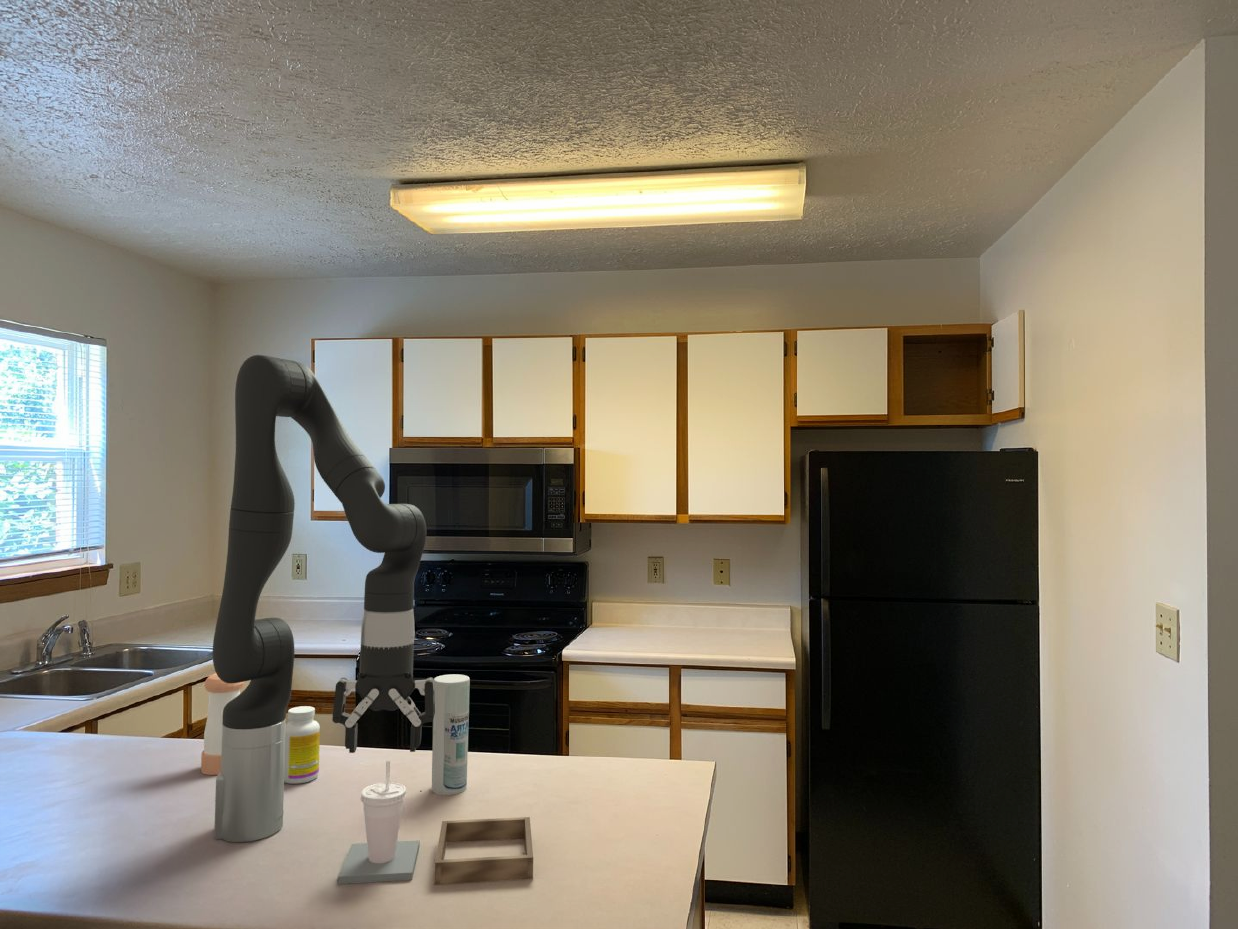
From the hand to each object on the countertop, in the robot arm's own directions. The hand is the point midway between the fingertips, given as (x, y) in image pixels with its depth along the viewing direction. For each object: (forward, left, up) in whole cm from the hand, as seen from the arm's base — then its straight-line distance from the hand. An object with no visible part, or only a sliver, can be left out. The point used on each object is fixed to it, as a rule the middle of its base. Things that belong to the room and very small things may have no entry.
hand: (383, 750), depth 114 cm
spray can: (+8, +28, -17) cm, 33 cm away
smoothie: (0, 0, -16) cm, 16 cm away
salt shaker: (-36, +43, -17) cm, 58 cm away
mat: (0, 0, -16) cm, 16 cm away
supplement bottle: (-20, +36, -17) cm, 44 cm away
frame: (+15, 0, -16) cm, 22 cm away
